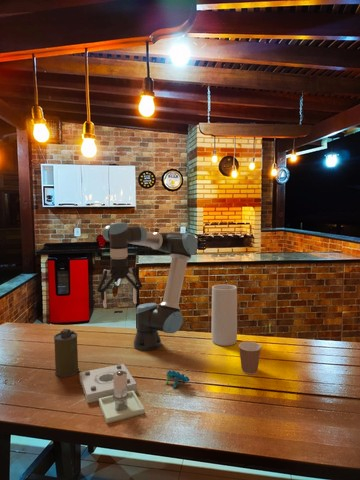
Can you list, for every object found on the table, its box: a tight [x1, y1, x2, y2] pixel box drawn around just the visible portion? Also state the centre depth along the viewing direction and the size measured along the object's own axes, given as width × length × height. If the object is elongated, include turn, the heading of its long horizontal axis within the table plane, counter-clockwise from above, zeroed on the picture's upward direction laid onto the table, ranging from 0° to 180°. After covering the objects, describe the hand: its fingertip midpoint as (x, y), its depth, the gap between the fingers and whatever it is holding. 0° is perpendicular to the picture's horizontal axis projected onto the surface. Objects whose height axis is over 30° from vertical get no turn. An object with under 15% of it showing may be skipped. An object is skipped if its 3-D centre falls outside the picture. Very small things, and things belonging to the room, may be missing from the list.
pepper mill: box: [113, 371, 129, 411], centre depth 129 cm, size 6×6×14 cm
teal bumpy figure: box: [165, 369, 190, 389], centre depth 146 cm, size 11×6×10 cm
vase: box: [210, 283, 238, 347], centre depth 192 cm, size 14×14×32 cm
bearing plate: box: [79, 363, 138, 404], centre depth 146 cm, size 20×20×4 cm
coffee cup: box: [238, 341, 262, 375], centre depth 158 cm, size 10×10×12 cm
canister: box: [53, 328, 80, 378], centre depth 158 cm, size 11×10×20 cm
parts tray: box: [98, 391, 145, 425], centre depth 129 cm, size 14×14×2 cm
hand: (120, 305), depth 152 cm, fingers open, 13 cm apart
